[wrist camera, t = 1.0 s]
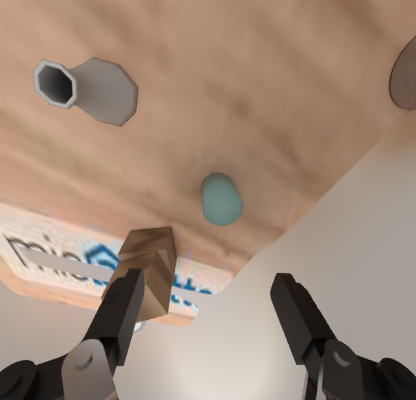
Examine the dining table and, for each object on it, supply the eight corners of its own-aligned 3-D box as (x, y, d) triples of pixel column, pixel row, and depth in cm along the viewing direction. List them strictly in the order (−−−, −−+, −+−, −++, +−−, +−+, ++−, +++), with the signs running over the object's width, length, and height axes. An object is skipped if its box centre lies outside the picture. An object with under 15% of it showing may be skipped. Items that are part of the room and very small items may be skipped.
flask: (125, 136, 26) (87, 150, 17) (70, 104, 24) (-7, 100, 15) (148, 85, 23) (117, 69, 14) (89, 44, 21) (10, -5, 12)
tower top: (156, 249, 27) (146, 284, 22) (172, 277, 30) (167, 314, 24) (119, 261, 28) (100, 298, 22) (138, 287, 30) (126, 325, 25)
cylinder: (232, 171, 29) (242, 189, 22) (232, 200, 31) (242, 223, 25) (200, 174, 29) (201, 192, 22) (202, 203, 31) (204, 227, 24)
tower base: (170, 226, 32) (165, 249, 27) (176, 256, 36) (173, 282, 30) (130, 230, 32) (117, 254, 27) (140, 260, 35) (130, 287, 30)
